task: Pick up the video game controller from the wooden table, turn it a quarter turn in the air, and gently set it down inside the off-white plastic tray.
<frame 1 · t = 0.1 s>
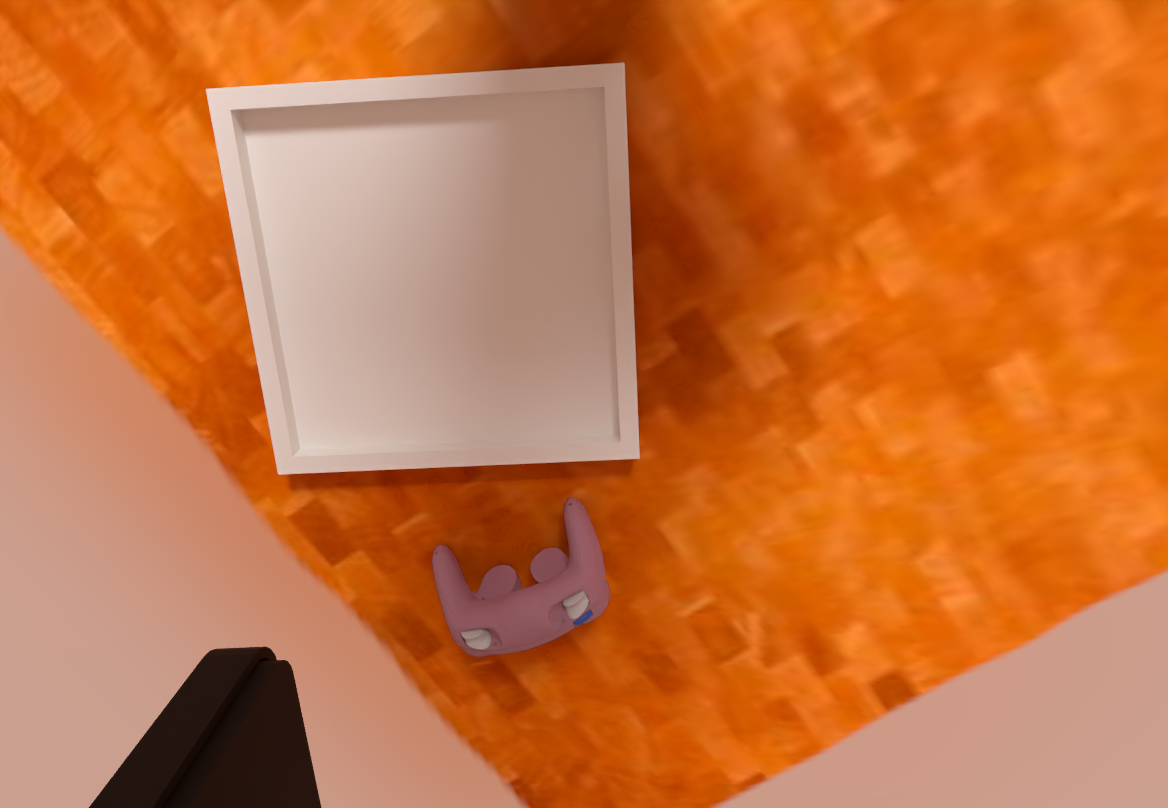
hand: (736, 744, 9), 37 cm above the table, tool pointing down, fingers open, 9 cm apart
video game controller: (524, 555, 50), on the table
tray: (444, 279, 44), on the table
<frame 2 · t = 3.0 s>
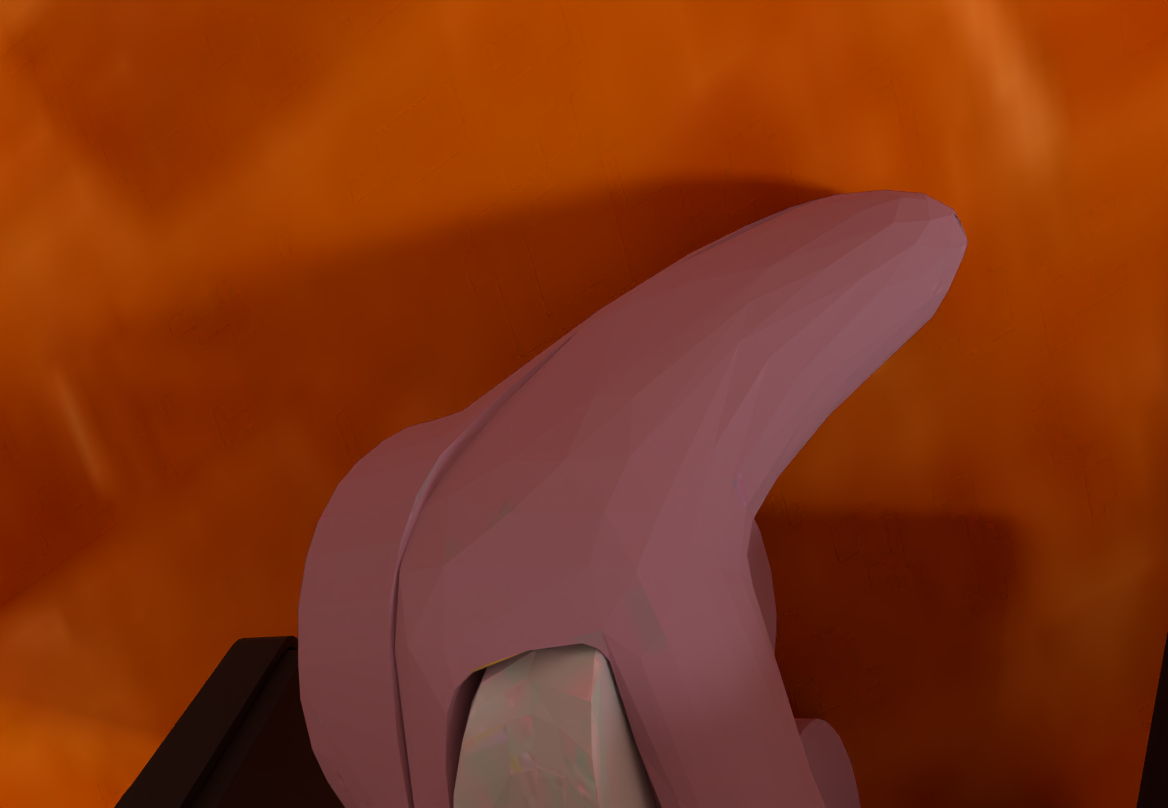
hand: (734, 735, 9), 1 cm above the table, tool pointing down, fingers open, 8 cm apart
video game controller: (768, 621, 10), on the table, touching gripper
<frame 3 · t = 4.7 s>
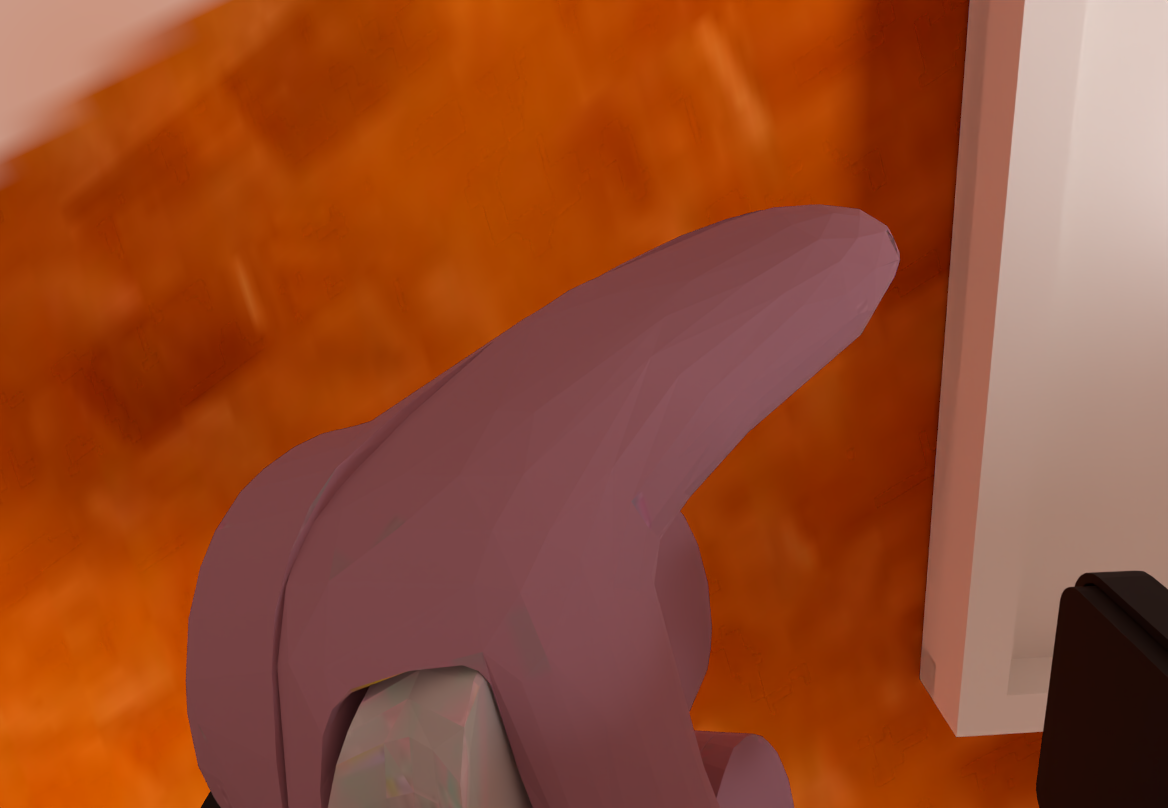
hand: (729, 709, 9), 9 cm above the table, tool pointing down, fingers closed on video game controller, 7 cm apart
video game controller: (709, 634, 10), point 8 cm above the table, touching gripper
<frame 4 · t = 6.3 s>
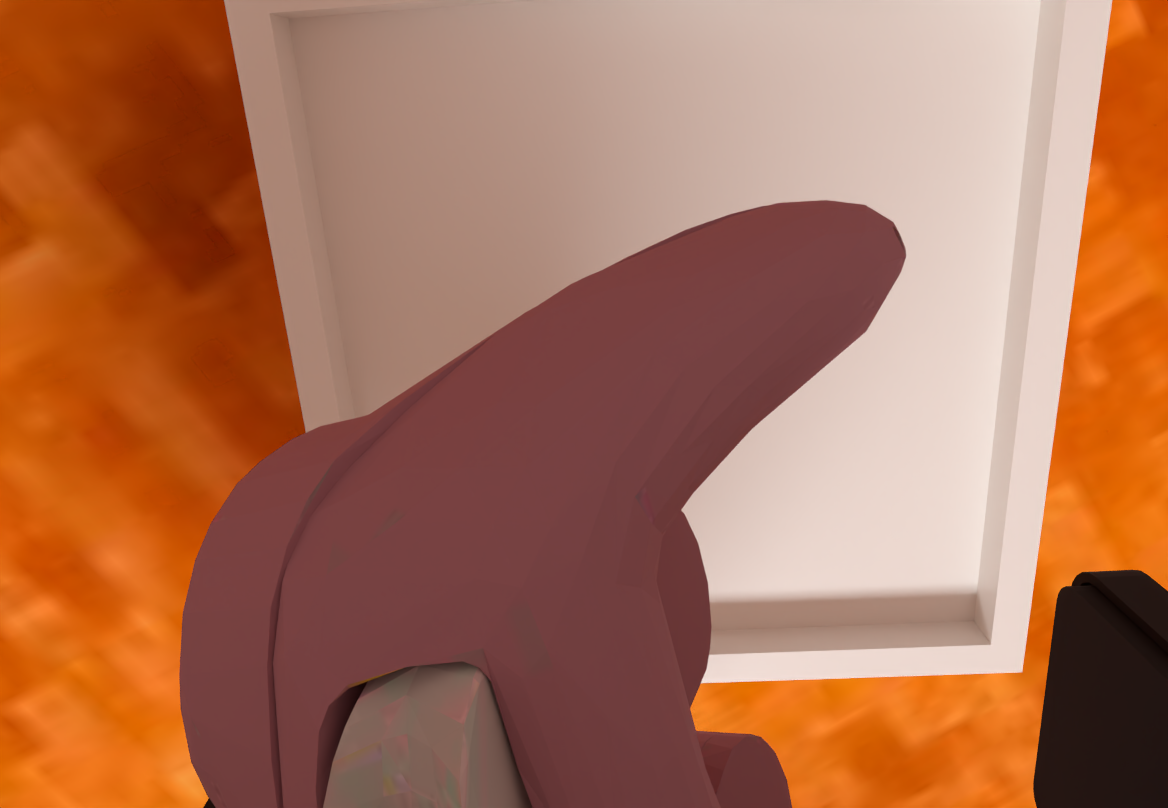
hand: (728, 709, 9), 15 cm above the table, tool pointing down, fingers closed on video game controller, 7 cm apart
video game controller: (708, 633, 10), point 14 cm above the table, touching gripper
tray: (667, 345, 23), on the table
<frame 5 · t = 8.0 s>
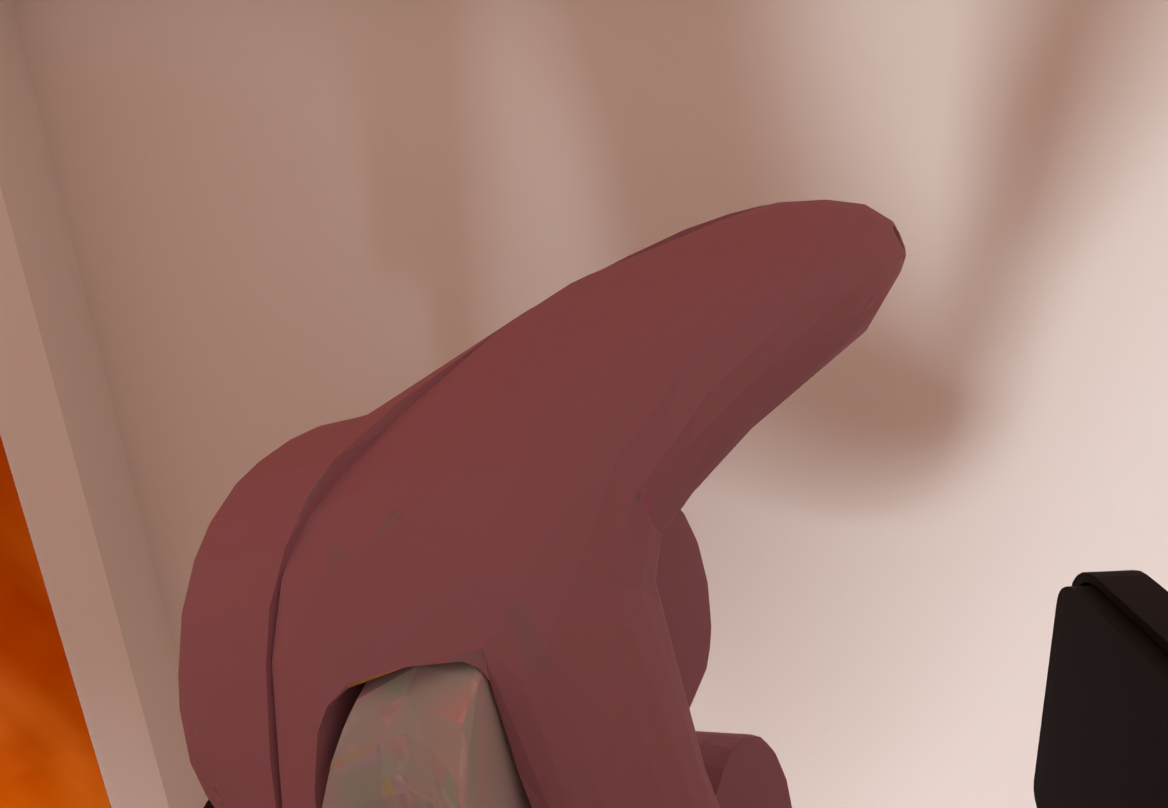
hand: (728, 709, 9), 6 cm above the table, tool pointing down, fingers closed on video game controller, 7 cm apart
video game controller: (708, 633, 10), point 4 cm above the table, touching gripper
tray: (679, 510, 14), on the table
when the fingers open (2 cm above the table, at t = 9.2 s): video game controller stays where it is, resting on tray.
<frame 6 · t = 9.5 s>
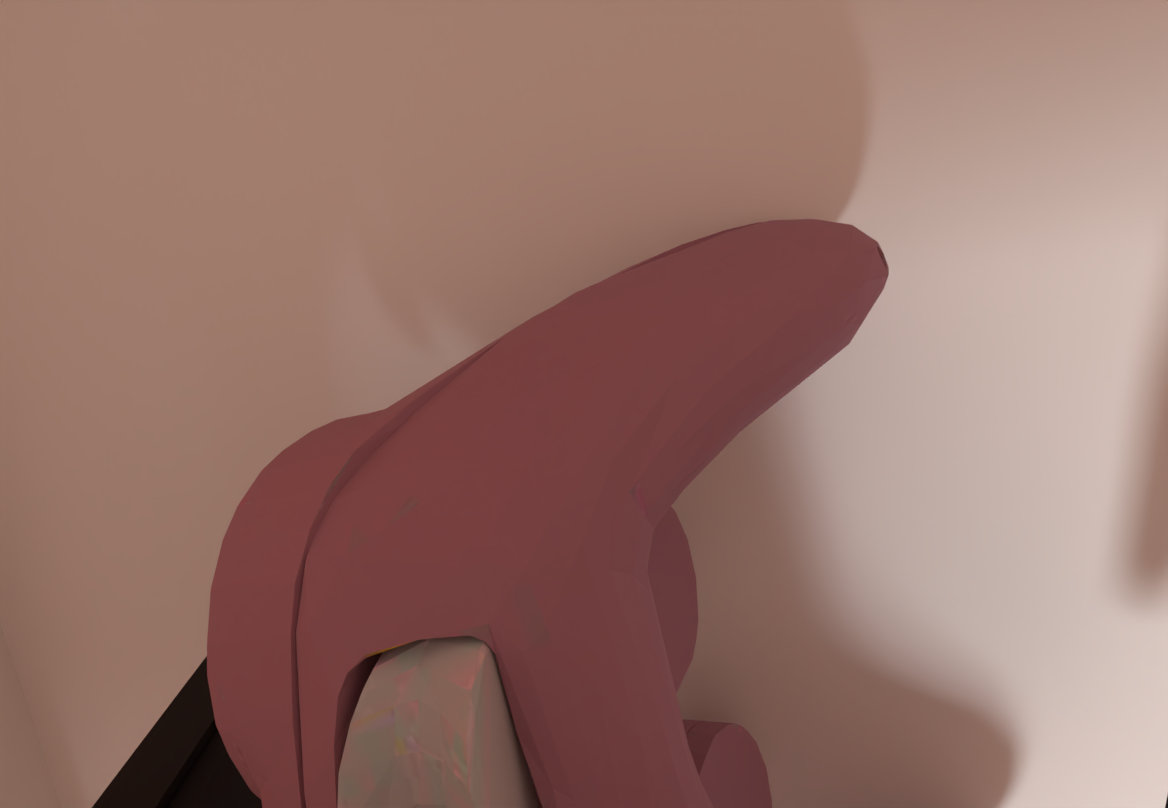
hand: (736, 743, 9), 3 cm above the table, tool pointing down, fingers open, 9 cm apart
video game controller: (695, 626, 10), point 1 cm above the table, touching tray
tray: (706, 607, 11), on the table
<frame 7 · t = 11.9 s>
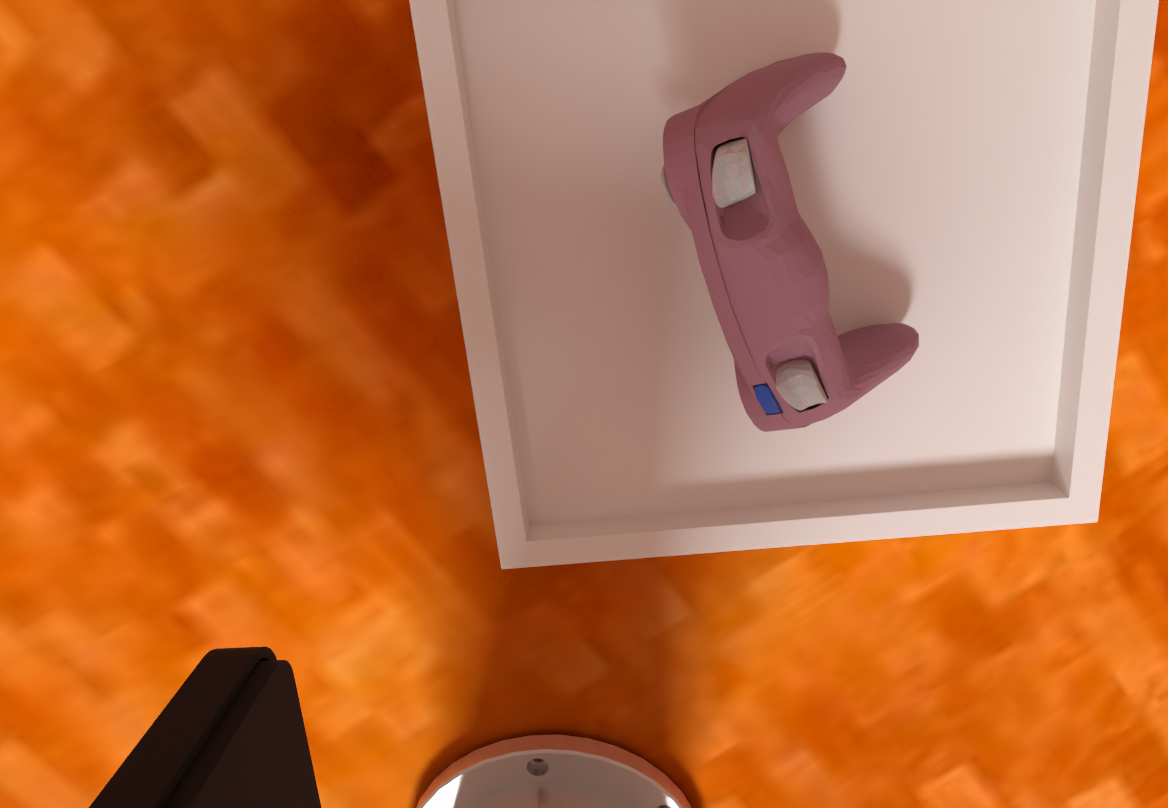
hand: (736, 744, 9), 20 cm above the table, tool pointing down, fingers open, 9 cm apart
video game controller: (778, 236, 26), point 1 cm above the table, touching tray
tray: (773, 241, 26), on the table
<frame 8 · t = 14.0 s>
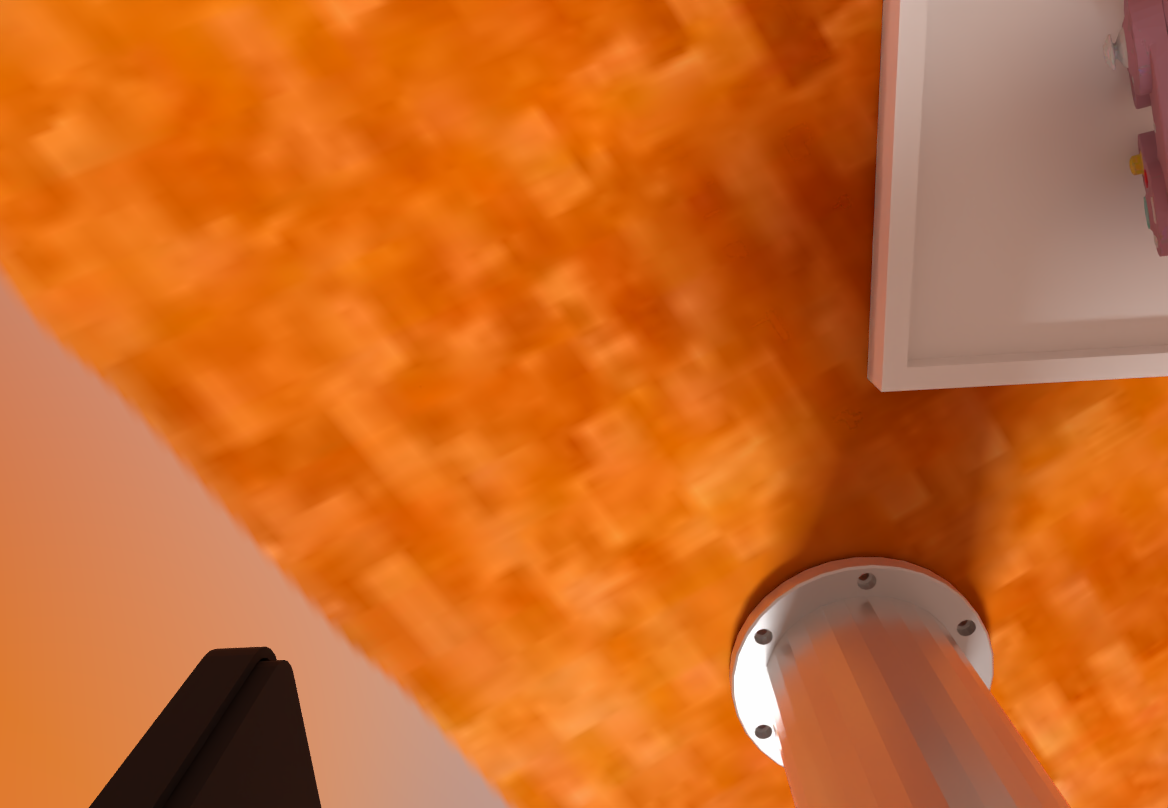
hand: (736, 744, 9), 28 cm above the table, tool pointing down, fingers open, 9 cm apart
video game controller: (1148, 113, 32), point 1 cm above the table, touching tray
tray: (1130, 124, 33), on the table
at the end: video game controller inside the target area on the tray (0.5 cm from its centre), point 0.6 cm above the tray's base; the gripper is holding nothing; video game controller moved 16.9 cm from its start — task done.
